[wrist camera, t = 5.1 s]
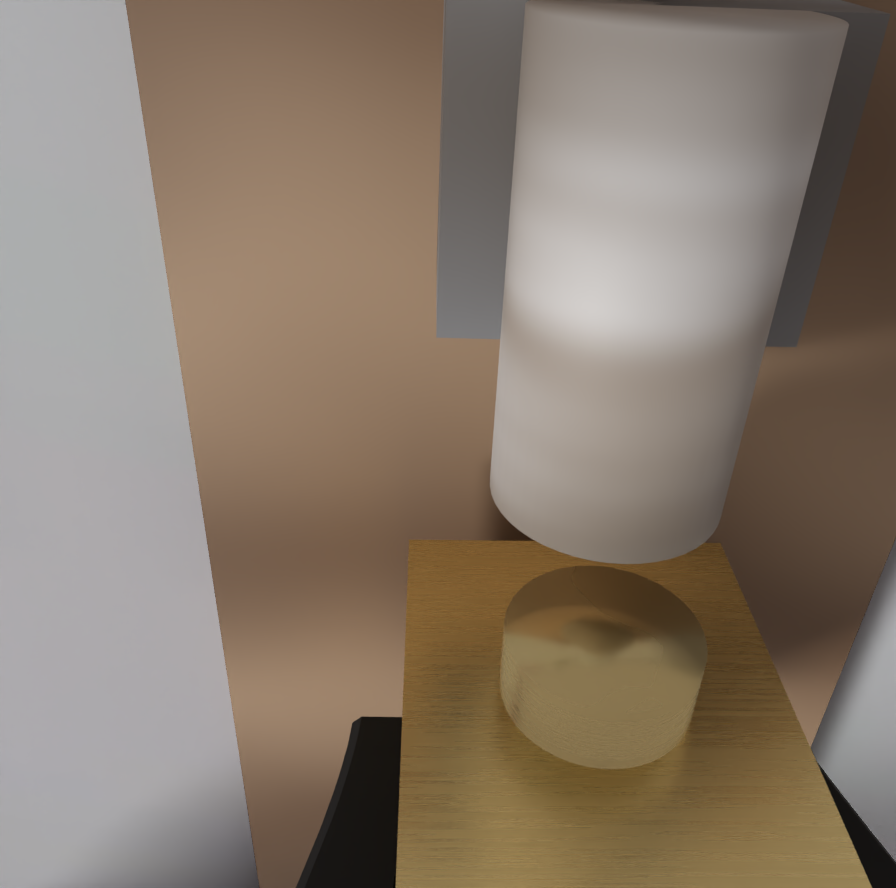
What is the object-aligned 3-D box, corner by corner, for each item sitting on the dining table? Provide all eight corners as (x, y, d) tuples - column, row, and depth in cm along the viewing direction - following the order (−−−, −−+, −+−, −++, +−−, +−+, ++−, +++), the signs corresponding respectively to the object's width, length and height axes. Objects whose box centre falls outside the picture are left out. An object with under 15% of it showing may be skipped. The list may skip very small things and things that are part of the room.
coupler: (661, 778, 14) (762, 1173, 9) (409, 777, 14) (397, 1176, 9) (733, 492, 11) (929, 886, 6) (409, 488, 11) (392, 885, 6)
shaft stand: (705, 918, 20) (771, 1173, 16) (279, 915, 20) (240, 1173, 16) (1149, -299, 8) (1808, -473, 4) (113, -349, 8) (-207, -584, 4)
